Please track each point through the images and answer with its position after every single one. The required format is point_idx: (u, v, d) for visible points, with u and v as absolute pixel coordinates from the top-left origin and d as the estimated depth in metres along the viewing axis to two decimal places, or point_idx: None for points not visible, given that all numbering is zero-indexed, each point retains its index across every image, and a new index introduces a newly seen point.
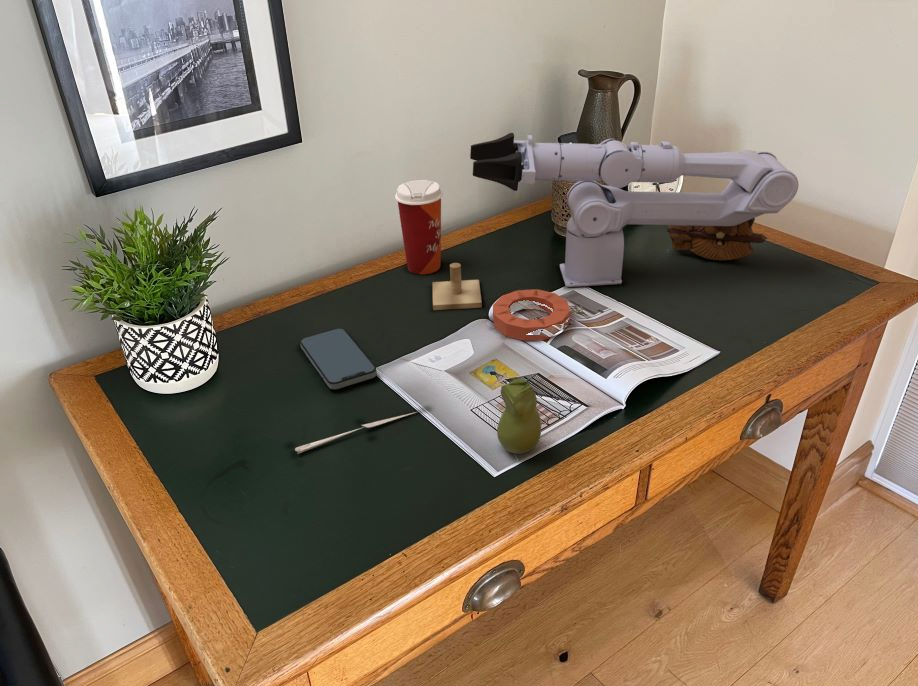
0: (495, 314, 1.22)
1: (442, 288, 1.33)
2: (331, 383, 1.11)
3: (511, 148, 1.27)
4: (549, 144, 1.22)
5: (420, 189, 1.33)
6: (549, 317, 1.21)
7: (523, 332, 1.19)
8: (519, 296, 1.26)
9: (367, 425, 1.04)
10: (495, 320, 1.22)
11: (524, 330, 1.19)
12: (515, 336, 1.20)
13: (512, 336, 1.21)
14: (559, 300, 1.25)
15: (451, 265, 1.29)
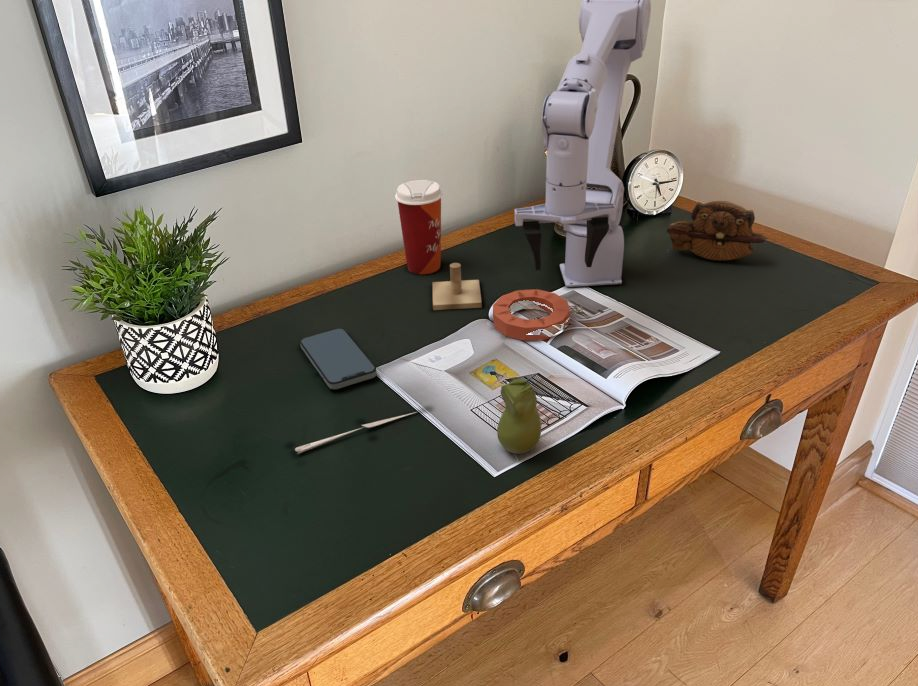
0: (495, 314, 1.22)
1: (442, 288, 1.33)
2: (331, 383, 1.11)
3: (539, 229, 1.15)
4: (570, 197, 1.10)
5: (420, 189, 1.33)
6: (549, 317, 1.21)
7: (523, 332, 1.19)
8: (519, 296, 1.26)
9: (367, 425, 1.04)
10: (495, 320, 1.22)
11: (524, 330, 1.19)
12: (515, 336, 1.20)
13: (512, 336, 1.21)
14: (559, 300, 1.25)
15: (451, 265, 1.29)
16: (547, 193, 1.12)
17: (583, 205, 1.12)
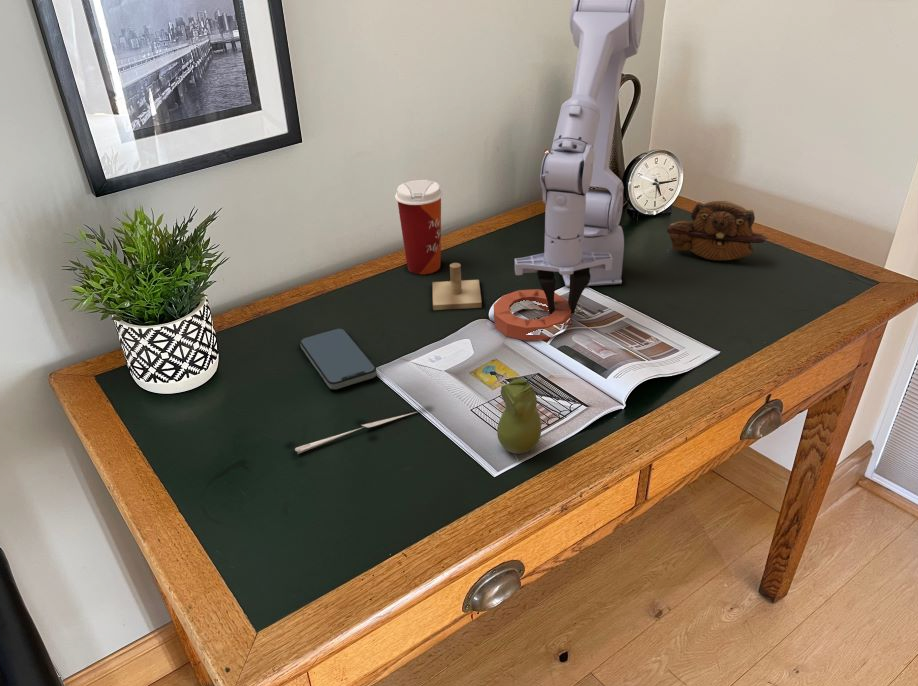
0: (496, 314, 1.22)
1: (442, 288, 1.33)
2: (331, 383, 1.11)
3: (553, 277, 1.19)
4: (567, 249, 1.14)
5: (420, 189, 1.33)
6: (550, 317, 1.20)
7: (524, 332, 1.19)
8: (520, 296, 1.26)
9: (367, 425, 1.04)
10: (496, 320, 1.22)
11: (525, 330, 1.19)
12: (516, 336, 1.20)
13: (513, 336, 1.21)
14: (560, 300, 1.25)
15: (451, 265, 1.29)
16: (546, 245, 1.16)
17: (580, 256, 1.16)
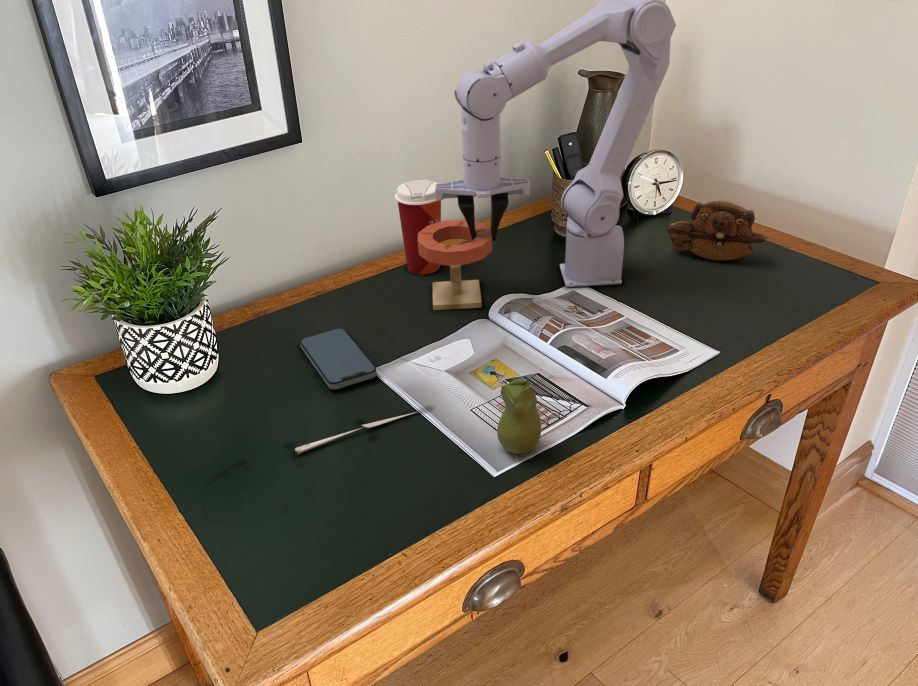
0: (418, 241, 1.25)
1: (442, 288, 1.33)
2: (331, 383, 1.11)
3: (473, 202, 1.22)
4: (484, 172, 1.17)
5: (420, 189, 1.33)
6: (470, 242, 1.23)
7: (444, 256, 1.22)
8: (445, 225, 1.29)
9: (367, 425, 1.04)
10: (419, 247, 1.25)
11: (444, 254, 1.21)
12: (437, 261, 1.23)
13: (434, 261, 1.23)
14: (483, 228, 1.27)
15: (451, 265, 1.29)
16: (464, 169, 1.19)
17: (497, 180, 1.19)
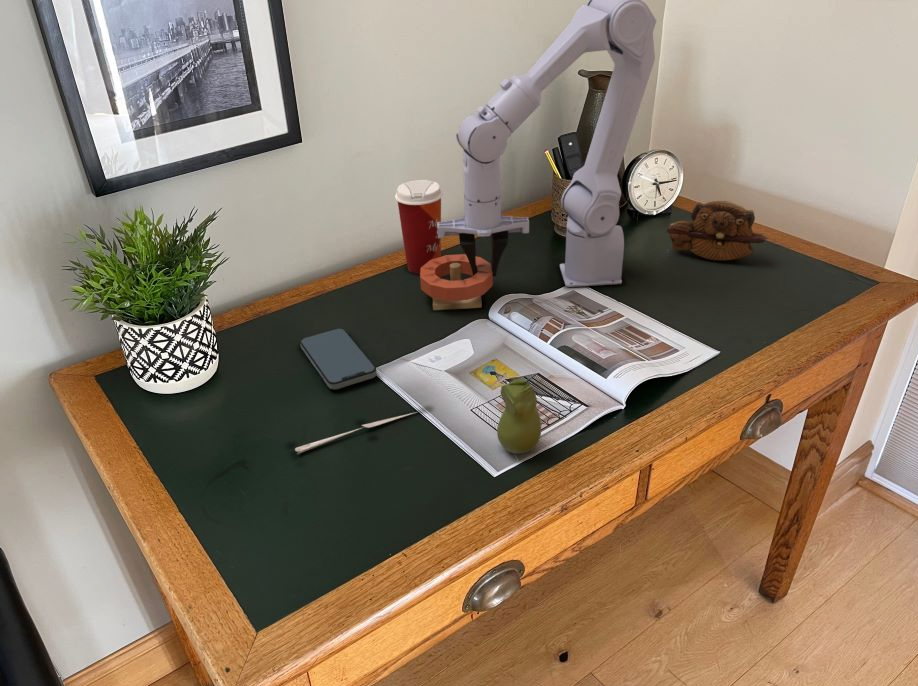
0: (421, 276, 1.28)
1: None
2: (331, 383, 1.11)
3: (474, 239, 1.25)
4: (484, 212, 1.21)
5: (420, 189, 1.33)
6: (471, 278, 1.27)
7: (445, 292, 1.25)
8: (446, 260, 1.33)
9: (367, 425, 1.04)
10: (421, 282, 1.29)
11: (446, 290, 1.25)
12: (439, 296, 1.26)
13: (436, 297, 1.27)
14: (483, 263, 1.31)
15: (451, 265, 1.29)
16: (465, 208, 1.22)
17: (498, 219, 1.23)
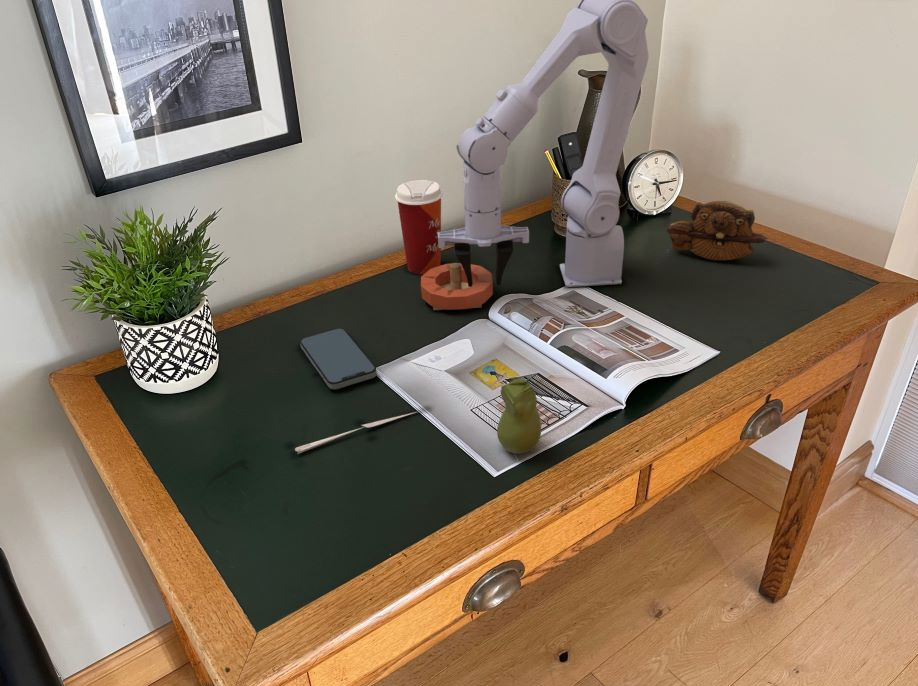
0: (422, 285, 1.29)
1: None
2: (331, 383, 1.11)
3: None
4: (485, 222, 1.22)
5: (420, 189, 1.33)
6: (472, 287, 1.28)
7: (446, 301, 1.26)
8: (447, 269, 1.33)
9: (367, 425, 1.04)
10: (422, 291, 1.30)
11: (447, 299, 1.26)
12: (439, 305, 1.27)
13: (437, 305, 1.28)
14: (484, 272, 1.32)
15: (451, 265, 1.29)
16: (465, 218, 1.23)
17: (498, 229, 1.24)
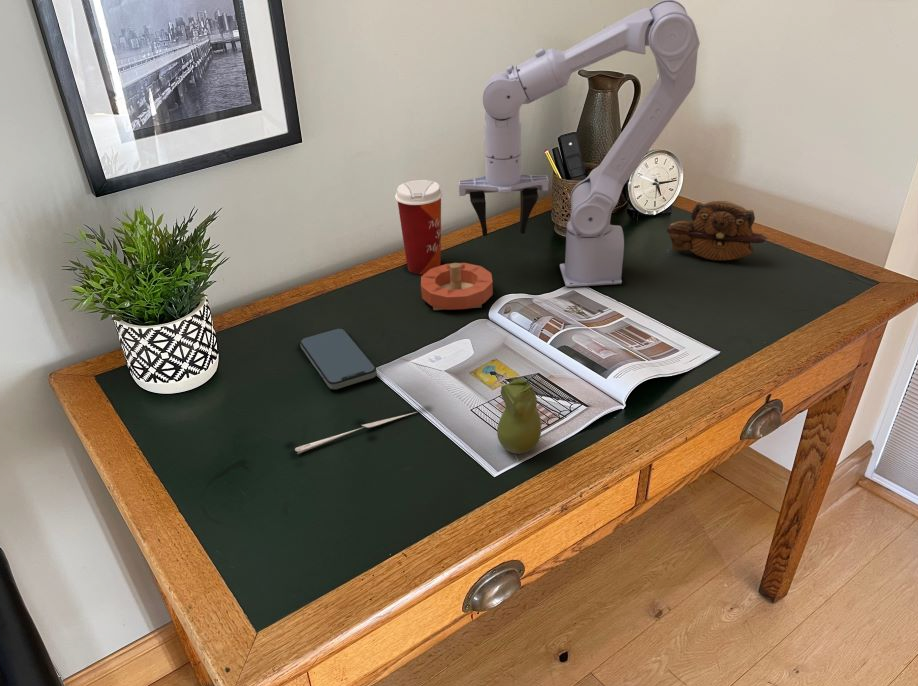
0: (422, 285, 1.29)
1: None
2: (331, 383, 1.11)
3: (484, 198, 1.29)
4: (505, 169, 1.24)
5: (420, 189, 1.33)
6: (472, 287, 1.28)
7: (446, 301, 1.26)
8: (447, 269, 1.33)
9: (367, 425, 1.04)
10: (422, 291, 1.30)
11: (447, 299, 1.26)
12: (439, 305, 1.27)
13: (437, 305, 1.28)
14: (484, 272, 1.32)
15: (451, 265, 1.29)
16: (486, 166, 1.26)
17: (518, 176, 1.26)
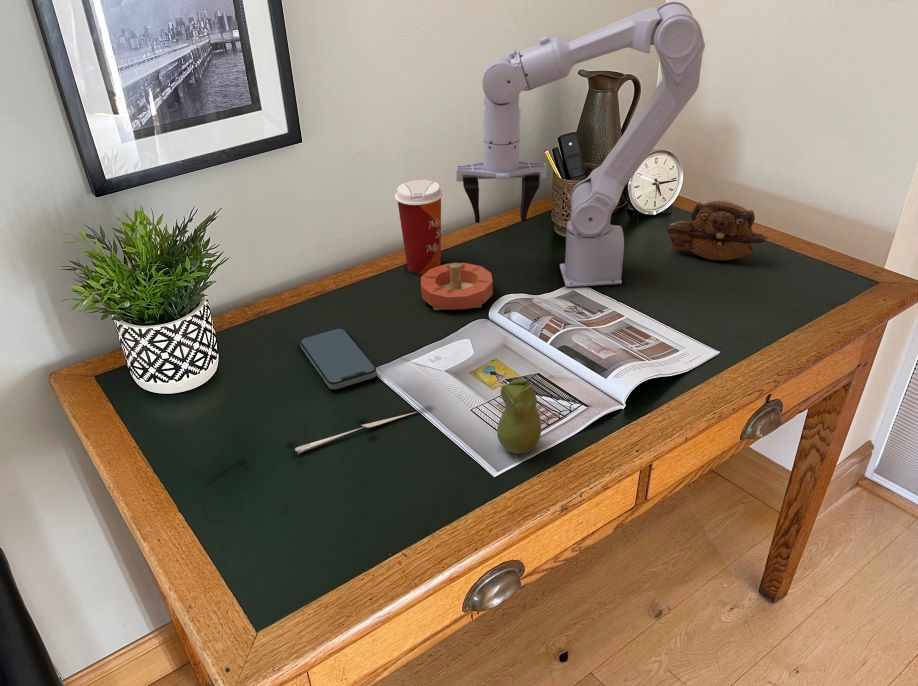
0: (422, 285, 1.29)
1: None
2: (331, 383, 1.11)
3: None
4: (503, 155, 1.23)
5: (420, 189, 1.33)
6: (472, 287, 1.28)
7: (446, 301, 1.26)
8: (447, 269, 1.33)
9: (367, 425, 1.04)
10: (422, 291, 1.30)
11: (447, 299, 1.26)
12: (439, 305, 1.27)
13: (437, 305, 1.28)
14: (484, 272, 1.32)
15: (451, 265, 1.29)
16: (484, 151, 1.24)
17: (516, 163, 1.25)
